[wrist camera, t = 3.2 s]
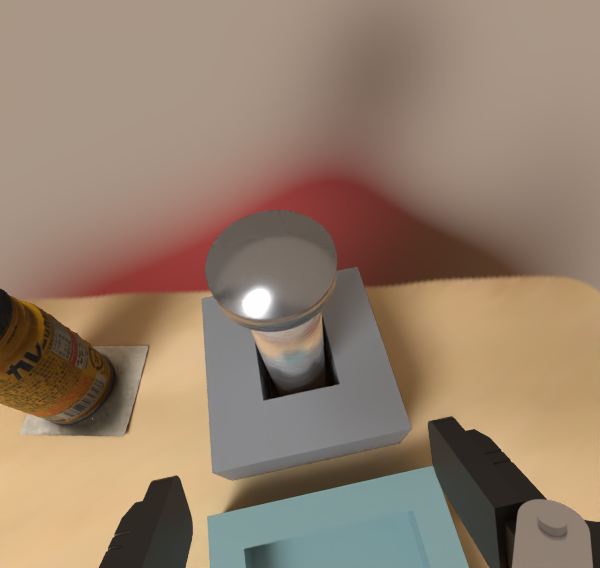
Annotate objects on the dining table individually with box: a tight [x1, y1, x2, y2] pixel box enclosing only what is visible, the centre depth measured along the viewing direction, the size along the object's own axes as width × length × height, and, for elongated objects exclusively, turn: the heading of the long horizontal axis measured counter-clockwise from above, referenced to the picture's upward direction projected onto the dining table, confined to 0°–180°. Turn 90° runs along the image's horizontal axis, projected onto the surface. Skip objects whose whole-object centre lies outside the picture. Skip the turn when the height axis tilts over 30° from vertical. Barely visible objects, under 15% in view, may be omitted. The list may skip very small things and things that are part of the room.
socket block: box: [202, 267, 412, 481], centre depth 28 cm, size 12×12×5 cm
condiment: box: [0, 289, 148, 436], centre depth 26 cm, size 7×8×12 cm
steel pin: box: [205, 210, 337, 397], centre depth 23 cm, size 6×6×16 cm
